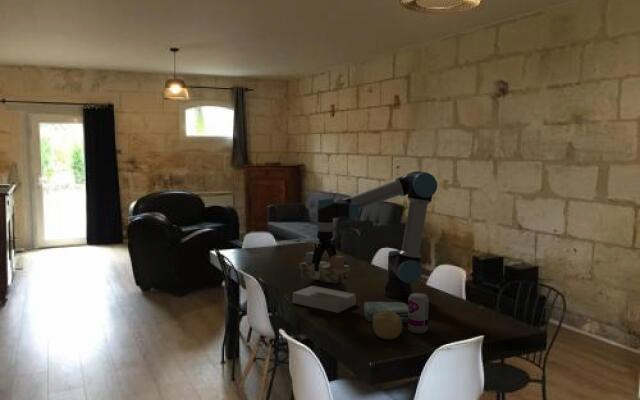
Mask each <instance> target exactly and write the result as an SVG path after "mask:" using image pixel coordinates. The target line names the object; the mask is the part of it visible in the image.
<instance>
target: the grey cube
mask: <svg viewBox="0 0 640 400" xmlns="http://www.w3.org/2000/svg"><path fill="white" fill-rule="evenodd" d="M313 254H314V251H309V252H305V261H304V262H305V263H310V264H312V259H313Z"/></svg>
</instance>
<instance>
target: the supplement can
mask: <svg viewBox="0 0 640 400" xmlns="http://www.w3.org/2000/svg"><path fill="white" fill-rule="evenodd" d="M429 299H430V298H429V297H428V294H426V293H423V292H413V293H412V294H410V296H409V298H408V304H407V305H408V322H407V329H408V330H409V332H411V333H414V334H425V333H426V332H428V330H429V328H428V327H429V306H430V305H429V304H430V303H429V302H430V301H429Z"/></svg>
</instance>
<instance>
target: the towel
mask: <svg viewBox="0 0 640 400" xmlns="http://www.w3.org/2000/svg"><path fill="white" fill-rule="evenodd" d="M363 309H364V317H365V320H367V321H368V322H373V315H374V314H376V313H378V312H380V311H381V310H383V311H387V310H388V311H392V312H395V313H396V314H398V315H399V317H400V318H401V321H402V323H406V322H407V323H408V304H406V303H405V302H398V301H393V302H392V301H391V302H390V301H388V302H387V301H365V302H363Z"/></svg>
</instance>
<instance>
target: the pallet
mask: <svg viewBox="0 0 640 400" xmlns="http://www.w3.org/2000/svg"><path fill="white" fill-rule="evenodd" d="M298 265H299V267H298V268H299V269H300V277H301V278H305V279H311V280H314V281H315V280H316V281H321V282H322V281H323V282H326V283H327V282H328V283H333V284H338V283H339V282H342V281H344V280H345V281H346V280H348V279H349V272H350V271H351V265H348V264H344V267H341V268H335V267H330V262H329V261H325V260H321V261H320V265H321V275H320V278H315V264H310V263H305V261H303V262H299V264H298Z"/></svg>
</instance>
